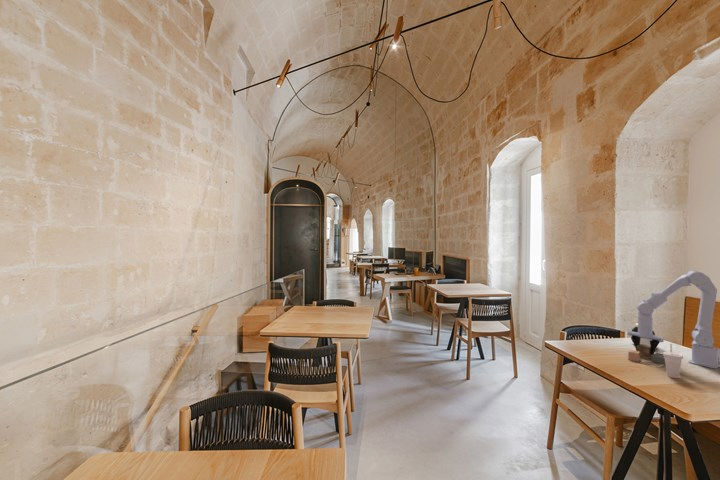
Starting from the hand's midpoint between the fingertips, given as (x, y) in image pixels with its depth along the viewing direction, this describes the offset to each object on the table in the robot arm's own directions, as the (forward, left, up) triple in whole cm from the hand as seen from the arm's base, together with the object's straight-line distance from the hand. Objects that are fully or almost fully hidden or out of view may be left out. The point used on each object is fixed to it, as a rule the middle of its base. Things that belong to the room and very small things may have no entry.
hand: (645, 352), depth 174 cm
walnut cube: (0, 0, -2) cm, 2 cm away
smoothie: (-18, +22, -2) cm, 28 cm away
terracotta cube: (0, +12, -2) cm, 12 cm away
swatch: (-7, +12, -1) cm, 14 cm away
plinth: (-9, +5, -2) cm, 10 cm away
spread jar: (+7, -17, -2) cm, 18 cm away
